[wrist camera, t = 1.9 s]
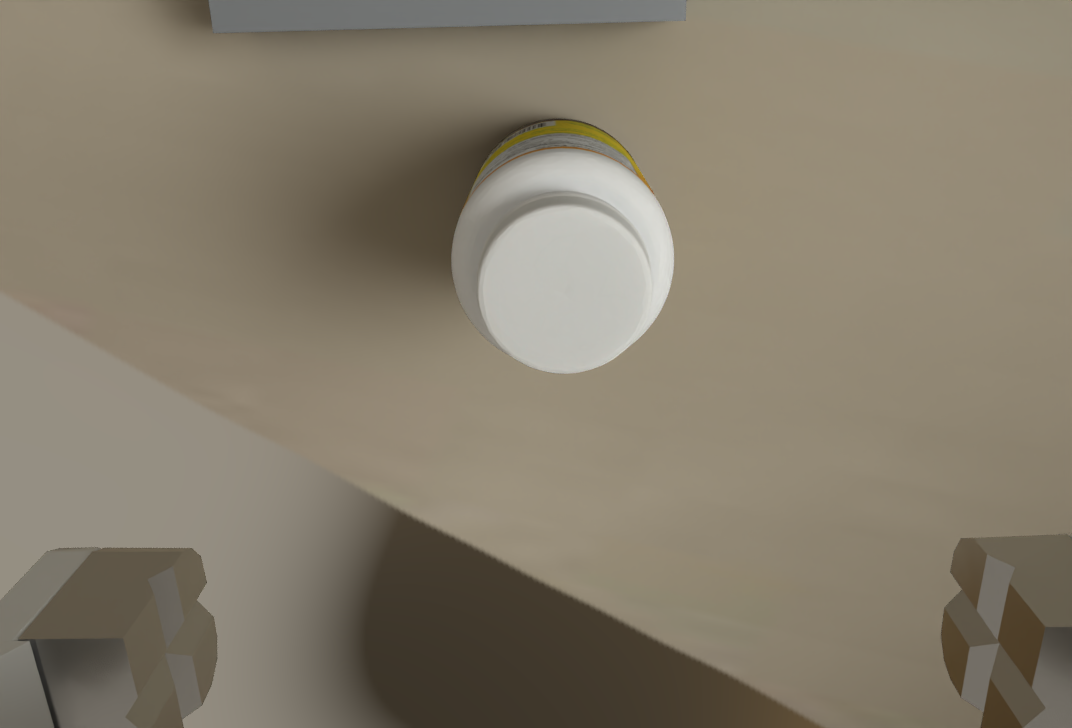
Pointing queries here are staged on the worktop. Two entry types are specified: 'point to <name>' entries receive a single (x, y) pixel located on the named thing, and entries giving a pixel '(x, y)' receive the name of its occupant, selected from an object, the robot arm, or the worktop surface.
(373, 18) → the tray
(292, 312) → the worktop surface
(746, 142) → the worktop surface
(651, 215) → the supplement bottle
